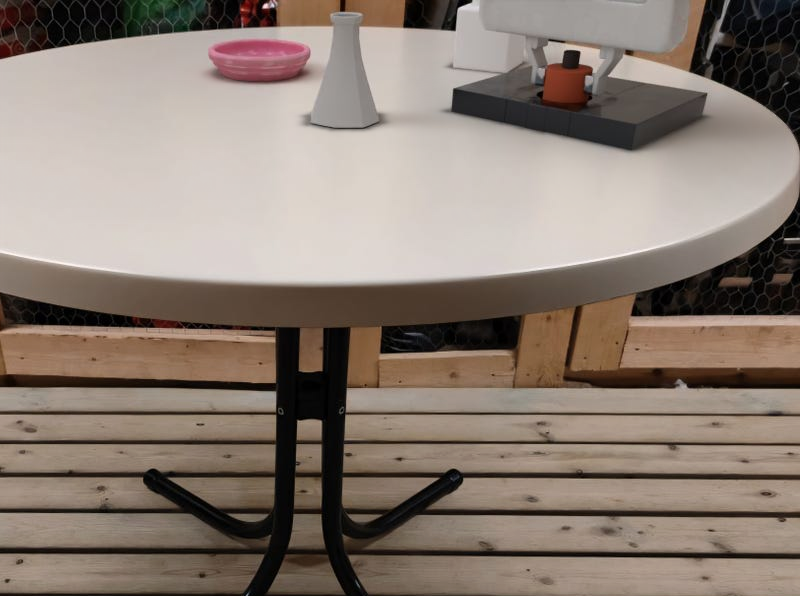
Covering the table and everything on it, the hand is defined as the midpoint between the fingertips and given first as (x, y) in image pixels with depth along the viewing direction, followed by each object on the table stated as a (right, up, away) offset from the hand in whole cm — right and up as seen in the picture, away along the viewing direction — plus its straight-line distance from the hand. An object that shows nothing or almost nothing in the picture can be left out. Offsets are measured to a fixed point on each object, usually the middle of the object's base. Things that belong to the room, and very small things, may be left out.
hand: (566, 89), depth 83 cm
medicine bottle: (-3, +11, +24) cm, 27 cm away
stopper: (0, -2, +1) cm, 2 cm away
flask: (-22, -3, +2) cm, 22 cm away
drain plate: (+2, -1, +4) cm, 4 cm away
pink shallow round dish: (-32, +9, +20) cm, 39 cm away
